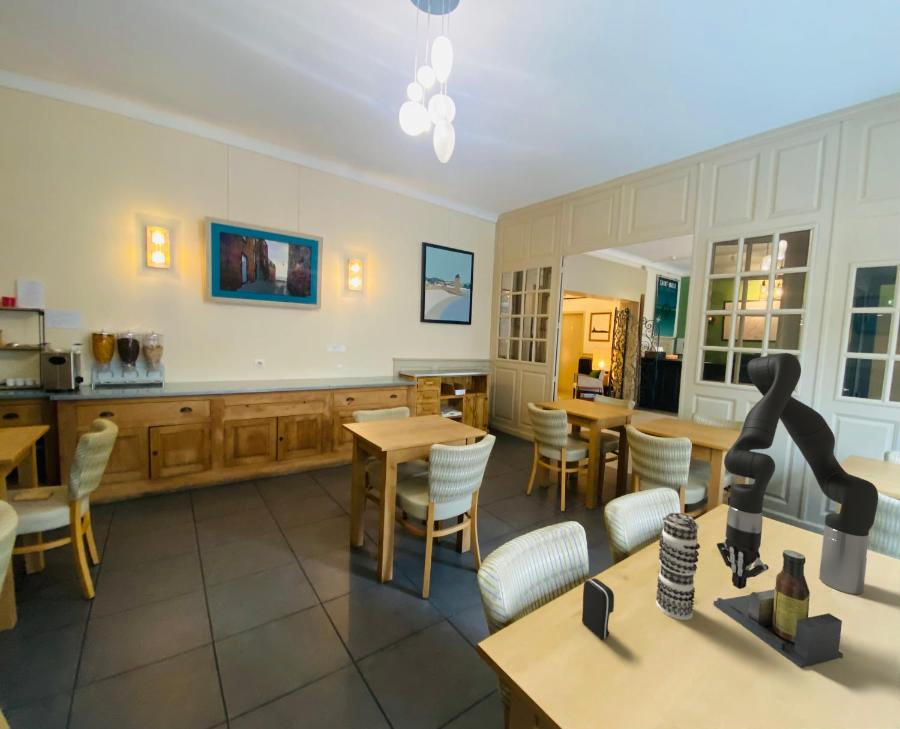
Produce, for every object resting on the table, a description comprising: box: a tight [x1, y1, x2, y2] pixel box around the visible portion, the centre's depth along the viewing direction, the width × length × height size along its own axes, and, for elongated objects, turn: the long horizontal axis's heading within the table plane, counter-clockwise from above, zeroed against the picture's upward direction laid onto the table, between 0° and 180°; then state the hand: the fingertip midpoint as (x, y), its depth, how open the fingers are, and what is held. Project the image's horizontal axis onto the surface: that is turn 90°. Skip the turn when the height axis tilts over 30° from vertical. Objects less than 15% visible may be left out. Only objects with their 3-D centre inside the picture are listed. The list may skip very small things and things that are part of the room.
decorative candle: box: [655, 512, 701, 621], centre depth 103 cm, size 9×9×25 cm
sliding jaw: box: [748, 588, 775, 627], centre depth 98 cm, size 10×3×7 cm, turn 105°
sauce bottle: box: [773, 549, 811, 643], centre depth 93 cm, size 7×6×20 cm
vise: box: [712, 591, 844, 669], centre depth 97 cm, size 13×21×9 cm, turn 15°
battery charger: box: [581, 578, 615, 640], centre depth 95 cm, size 7×4×11 cm, turn 26°
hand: (738, 587), depth 106 cm, fingers closed
